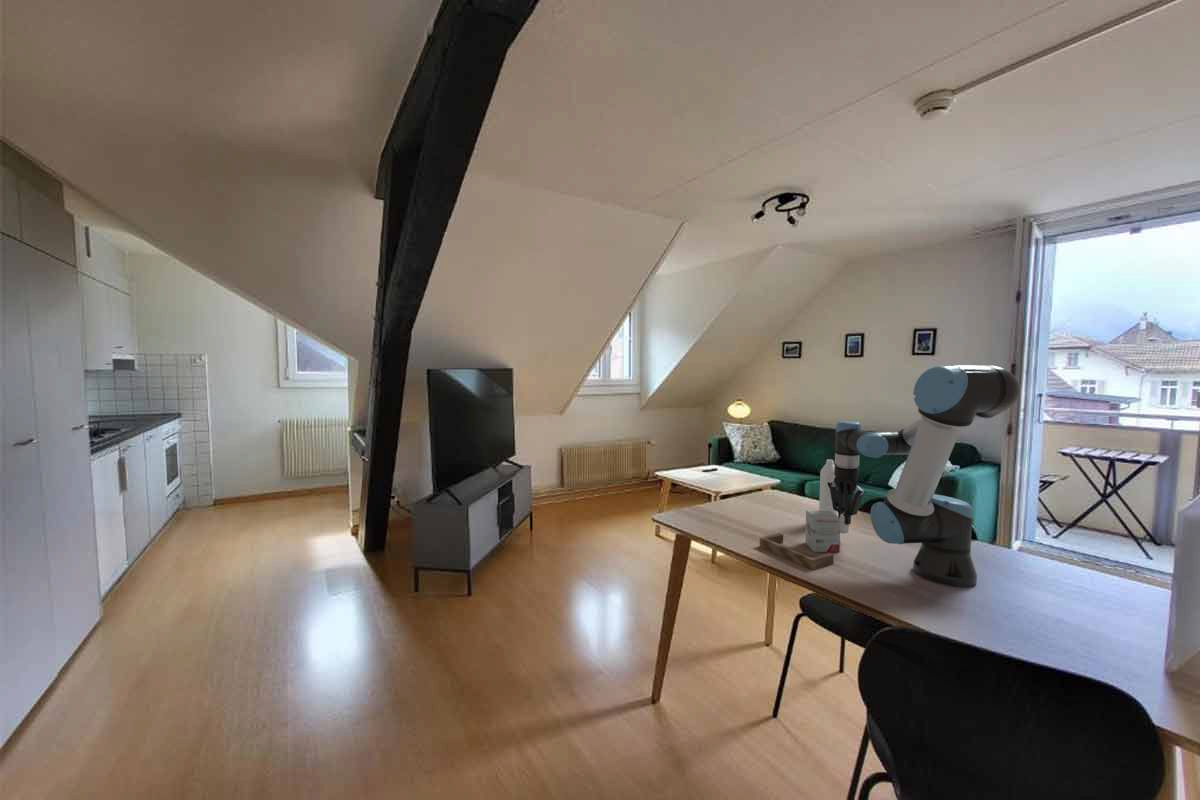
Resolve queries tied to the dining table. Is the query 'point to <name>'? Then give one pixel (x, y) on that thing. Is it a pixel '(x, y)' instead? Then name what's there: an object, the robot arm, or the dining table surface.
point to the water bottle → (826, 487)
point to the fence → (794, 553)
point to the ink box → (822, 531)
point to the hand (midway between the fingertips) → (843, 532)
